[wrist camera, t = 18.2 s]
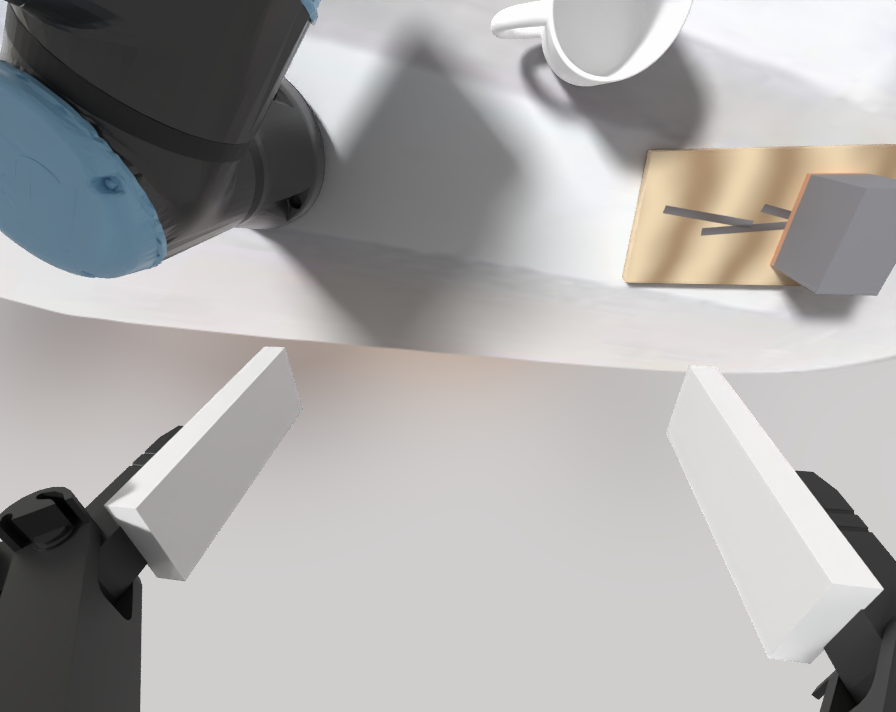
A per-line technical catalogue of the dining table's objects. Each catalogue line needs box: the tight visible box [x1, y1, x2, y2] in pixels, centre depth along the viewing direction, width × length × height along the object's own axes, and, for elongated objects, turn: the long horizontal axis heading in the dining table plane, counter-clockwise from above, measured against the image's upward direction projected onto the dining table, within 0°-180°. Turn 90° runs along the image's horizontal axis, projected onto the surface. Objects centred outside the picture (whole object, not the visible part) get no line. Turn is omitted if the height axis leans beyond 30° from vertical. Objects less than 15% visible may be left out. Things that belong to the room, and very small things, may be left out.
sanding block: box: [770, 173, 896, 296], centre depth 33 cm, size 4×8×7 cm, turn 2°
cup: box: [491, 0, 693, 86], centre depth 28 cm, size 8×12×10 cm
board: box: [622, 144, 896, 286], centre depth 38 cm, size 20×12×2 cm, turn 92°
